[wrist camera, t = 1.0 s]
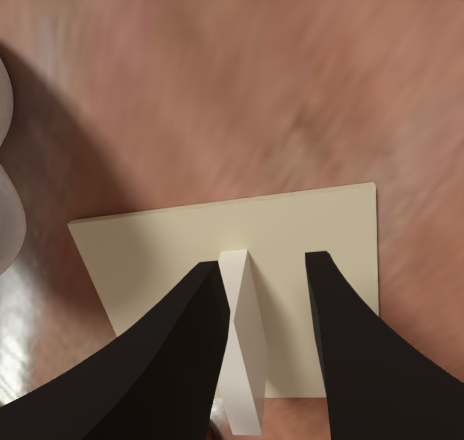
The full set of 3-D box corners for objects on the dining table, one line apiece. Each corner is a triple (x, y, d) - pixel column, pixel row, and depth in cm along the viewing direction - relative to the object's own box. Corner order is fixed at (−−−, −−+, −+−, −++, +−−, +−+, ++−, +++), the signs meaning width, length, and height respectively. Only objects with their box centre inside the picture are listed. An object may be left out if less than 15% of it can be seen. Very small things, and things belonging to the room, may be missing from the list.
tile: (247, 249, 21) (233, 321, 16) (267, 348, 24) (262, 435, 19) (218, 252, 21) (195, 323, 16) (242, 349, 25) (230, 434, 19)
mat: (373, 182, 19) (375, 186, 18) (378, 389, 25) (380, 397, 25) (72, 220, 22) (66, 224, 22) (147, 391, 29) (144, 398, 29)
